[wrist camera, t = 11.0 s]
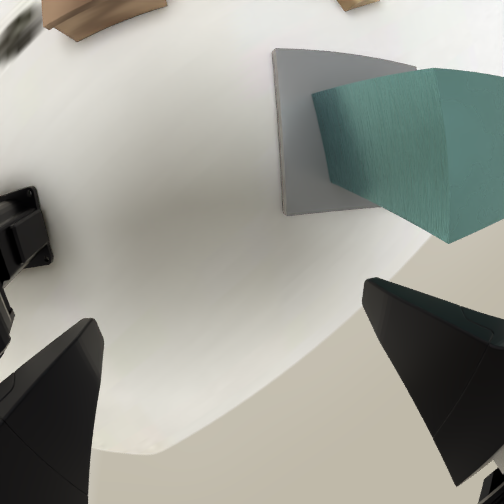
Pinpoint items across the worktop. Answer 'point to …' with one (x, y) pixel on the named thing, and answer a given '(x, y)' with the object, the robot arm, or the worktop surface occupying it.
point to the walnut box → (92, 14)
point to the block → (354, 3)
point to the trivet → (315, 124)
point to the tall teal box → (420, 146)
